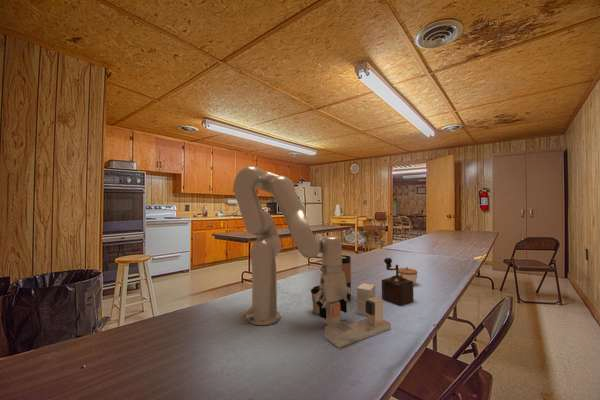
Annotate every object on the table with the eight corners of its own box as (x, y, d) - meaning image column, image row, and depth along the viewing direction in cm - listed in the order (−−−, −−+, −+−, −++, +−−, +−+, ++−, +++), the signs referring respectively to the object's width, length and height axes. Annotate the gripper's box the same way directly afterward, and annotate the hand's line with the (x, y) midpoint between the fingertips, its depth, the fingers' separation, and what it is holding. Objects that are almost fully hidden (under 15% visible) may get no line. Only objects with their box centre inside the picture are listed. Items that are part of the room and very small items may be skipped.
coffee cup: (326, 316, 105) (326, 290, 106) (309, 314, 107) (309, 289, 107) (328, 309, 112) (328, 285, 112) (312, 308, 114) (312, 284, 114)
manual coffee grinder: (415, 301, 121) (415, 262, 122) (400, 306, 115) (399, 265, 116) (387, 292, 134) (387, 256, 135) (372, 296, 128) (372, 259, 129)
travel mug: (350, 296, 127) (350, 255, 128) (351, 302, 120) (351, 258, 120) (334, 296, 128) (334, 255, 129) (334, 301, 121) (334, 258, 121)
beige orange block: (324, 322, 100) (324, 301, 100) (332, 320, 102) (332, 299, 102) (332, 327, 95) (332, 305, 96) (341, 325, 98) (341, 303, 98)
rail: (338, 348, 82) (338, 315, 82) (324, 337, 88) (324, 307, 88) (390, 328, 94) (390, 300, 95) (374, 321, 101) (374, 294, 101)
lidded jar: (392, 282, 151) (392, 266, 151) (408, 280, 154) (408, 264, 154) (405, 288, 141) (405, 270, 141) (421, 286, 144) (421, 268, 144)
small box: (362, 306, 115) (362, 282, 115) (375, 309, 112) (375, 284, 112) (356, 313, 108) (356, 287, 108) (370, 316, 105) (370, 289, 105)
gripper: (319, 274, 92) (320, 324, 91) (356, 267, 101) (357, 312, 100) (307, 270, 98) (308, 316, 98) (343, 263, 107) (344, 306, 107)
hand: (333, 314), depth 99 cm, fingers open, 9 cm apart
